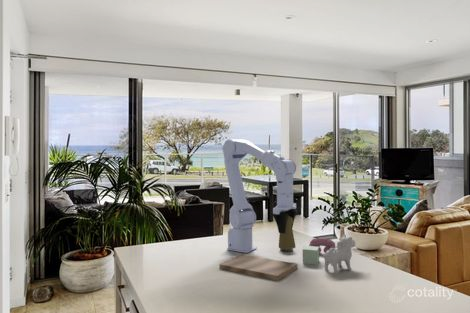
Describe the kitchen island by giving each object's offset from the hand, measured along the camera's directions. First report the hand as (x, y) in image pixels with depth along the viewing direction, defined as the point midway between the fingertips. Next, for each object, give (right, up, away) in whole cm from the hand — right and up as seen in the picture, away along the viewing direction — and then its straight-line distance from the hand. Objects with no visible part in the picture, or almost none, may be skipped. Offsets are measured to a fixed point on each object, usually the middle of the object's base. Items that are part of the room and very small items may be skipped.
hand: (285, 231), depth 133 cm
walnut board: (-10, -11, -8) cm, 17 cm away
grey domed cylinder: (+2, -10, +13) cm, 17 cm away
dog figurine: (+17, -11, -10) cm, 22 cm away
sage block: (+9, -10, -2) cm, 14 cm away
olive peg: (+1, -6, 0) cm, 6 cm away
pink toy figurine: (+15, -10, +8) cm, 20 cm away
